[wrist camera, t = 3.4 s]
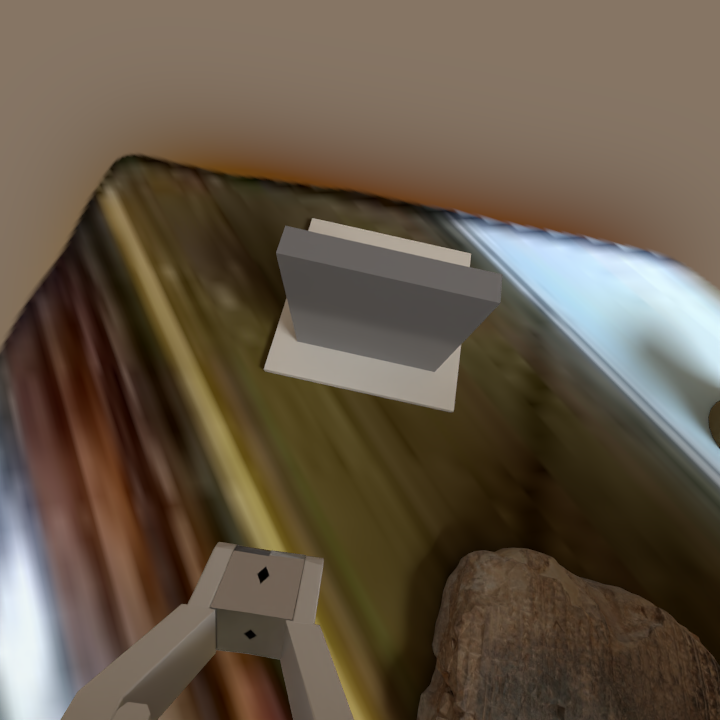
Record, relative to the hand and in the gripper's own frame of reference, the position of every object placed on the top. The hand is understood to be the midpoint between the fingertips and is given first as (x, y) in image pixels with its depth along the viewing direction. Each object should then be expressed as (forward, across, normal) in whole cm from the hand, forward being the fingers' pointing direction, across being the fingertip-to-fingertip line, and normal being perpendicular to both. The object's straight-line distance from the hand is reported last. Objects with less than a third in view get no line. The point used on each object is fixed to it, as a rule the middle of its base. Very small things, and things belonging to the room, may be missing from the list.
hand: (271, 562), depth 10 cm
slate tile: (+21, -3, +2) cm, 21 cm away
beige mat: (+24, -3, -1) cm, 24 cm away
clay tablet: (+7, -20, +17) cm, 27 cm away
